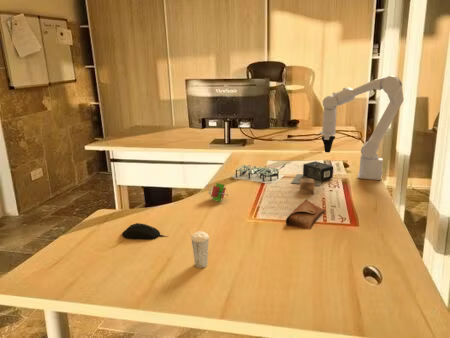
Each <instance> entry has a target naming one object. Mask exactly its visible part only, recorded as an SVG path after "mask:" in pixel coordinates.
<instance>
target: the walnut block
mask: <svg viewBox="0 0 450 338" xmlns="http://www.w3.org/2000/svg"><path fill="white" fill-rule="evenodd" d="M299 193H300V195H312V196H313V195H314V194H315V186H314V180H313V179H307V178H300V184H299Z"/></svg>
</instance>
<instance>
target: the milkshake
mask: <svg viewBox="0 0 450 338" xmlns="http://www.w3.org/2000/svg"><path fill="white" fill-rule="evenodd" d="M187 233H188V235H189V237H190V239H191V247H192V254H193V261H194V262H193V263H194V266H195V267H196V268H198V269H203V268H206V267H207V266H208V262H209V239H210V235H209V234H208V233H207V232H205V231H200V230H198V231H196V232H194V233H193V234H192V235H191V234H190V232H189V231H187Z"/></svg>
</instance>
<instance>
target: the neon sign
mask: <svg viewBox="0 0 450 338" xmlns="http://www.w3.org/2000/svg"><path fill="white" fill-rule="evenodd" d="M285 166H286V163H284V164H283V165H282V166H281V167H280V168H275V167H273V168H272V167H271V168H270V167H263V166H258V167H257V165H254V166H252V165H250V164H249V165H246V164H243V165H239V167H238V168H236V169H235V174H233V175H232V179H235V180H245V181H251V182H256V183H262V184H275V183H277V182H278V181H280V180H281V179H282V178H284V176H285V175H284V174H283V173H280V170H281V169H282V168H283V167H285Z"/></svg>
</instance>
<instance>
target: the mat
mask: <svg viewBox="0 0 450 338" xmlns="http://www.w3.org/2000/svg"><path fill="white" fill-rule="evenodd" d="M300 178H307V179H312V178H309V177H306V176H303V173H297V174H295V176H294V178H293V179H292V181H291V182H290V184H294V185H300ZM313 180H314V187H321V185H322V183H323V181H318V180H315V179H313Z"/></svg>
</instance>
